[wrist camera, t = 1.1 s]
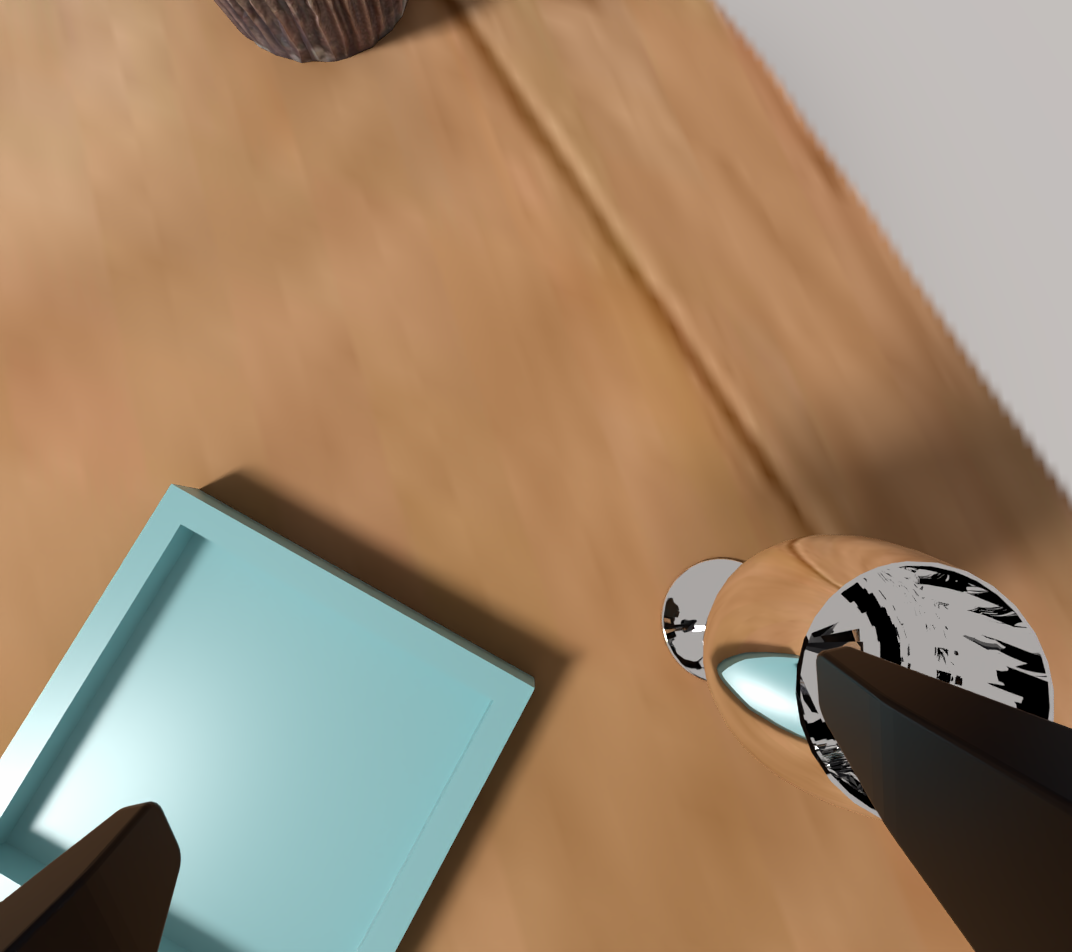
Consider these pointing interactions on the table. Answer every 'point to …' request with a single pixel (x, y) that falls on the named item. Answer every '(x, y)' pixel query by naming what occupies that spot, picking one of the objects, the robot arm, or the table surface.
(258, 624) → the tray
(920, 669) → the wineglass
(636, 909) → the table surface
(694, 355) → the table surface
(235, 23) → the cupcake
